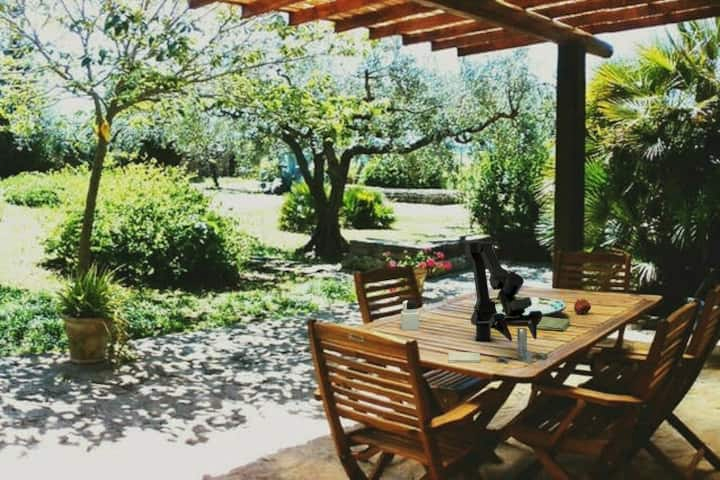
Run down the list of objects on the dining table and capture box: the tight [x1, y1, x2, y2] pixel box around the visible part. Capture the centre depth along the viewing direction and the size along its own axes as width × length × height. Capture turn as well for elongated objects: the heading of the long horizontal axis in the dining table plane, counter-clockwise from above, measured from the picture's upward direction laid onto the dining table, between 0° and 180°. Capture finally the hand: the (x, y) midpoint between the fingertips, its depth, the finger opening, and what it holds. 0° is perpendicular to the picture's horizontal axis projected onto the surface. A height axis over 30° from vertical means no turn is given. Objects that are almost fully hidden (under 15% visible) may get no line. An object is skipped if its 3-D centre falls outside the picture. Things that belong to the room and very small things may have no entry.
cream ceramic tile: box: [448, 351, 482, 363], centre depth 256 cm, size 11×11×1 cm
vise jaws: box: [496, 352, 548, 364], centre depth 253 cm, size 5×19×1 cm, turn 104°
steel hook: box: [516, 327, 532, 365], centre depth 251 cm, size 7×3×11 cm, turn 14°
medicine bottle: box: [400, 299, 420, 331], centre depth 308 cm, size 7×7×12 cm
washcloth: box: [537, 316, 571, 332], centre depth 306 cm, size 13×18×3 cm
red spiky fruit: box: [573, 298, 592, 317], centre depth 331 cm, size 7×7×10 cm
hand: (523, 339), depth 251 cm, fingers open, 9 cm apart
